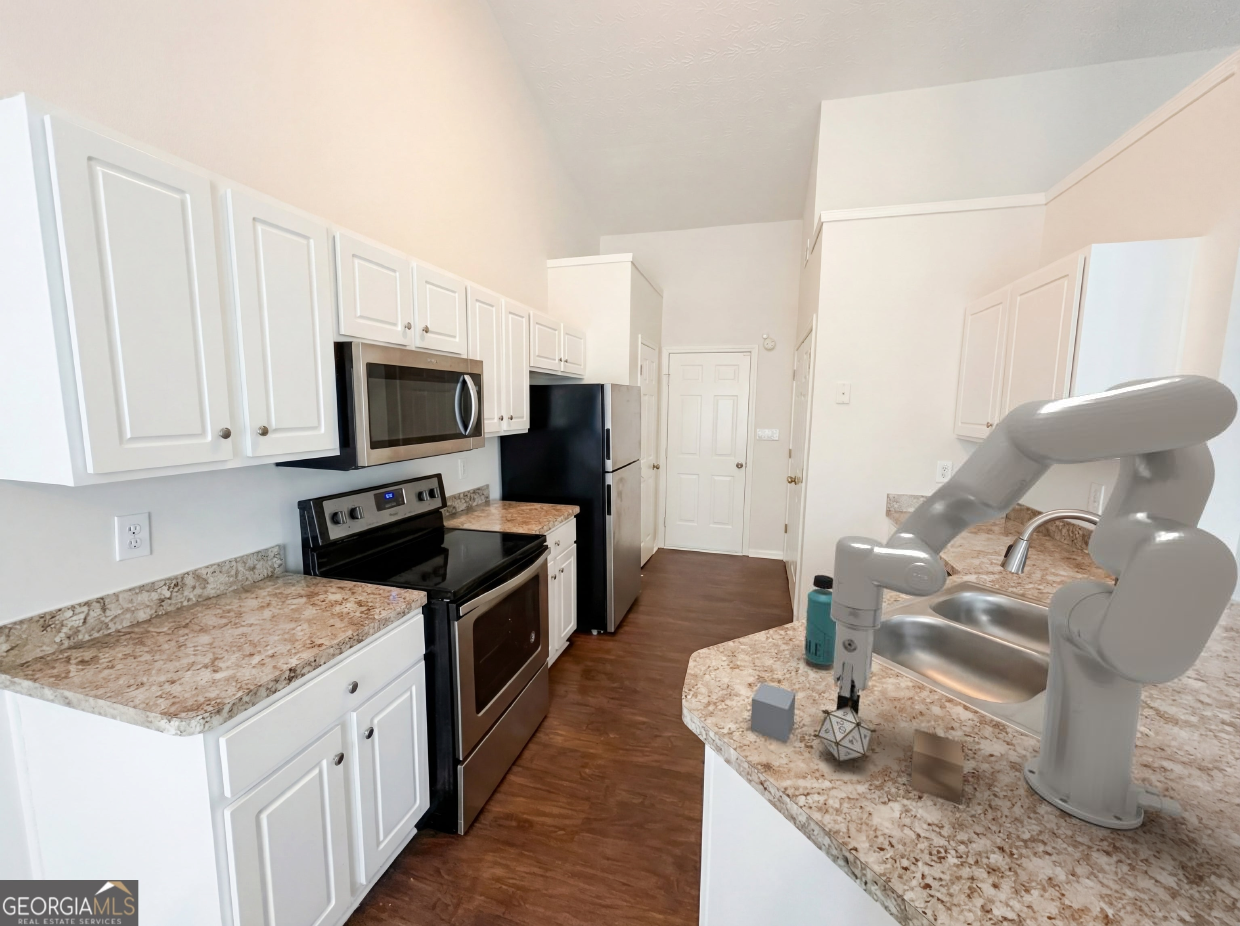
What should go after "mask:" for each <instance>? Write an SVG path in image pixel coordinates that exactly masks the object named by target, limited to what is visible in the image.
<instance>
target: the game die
mask: <svg viewBox="0 0 1240 926" xmlns="http://www.w3.org/2000/svg"><path fill="white" fill-rule="evenodd" d="M850 706H851V701H850V702H848V706H847V707H844V708H841V709H837V708H836V709H834V710H830V711H829V710H828V709H821V712H822V713H823V719H822V722H821V724H820V726H819V730H818V732H817V733H813V734H812V737H813V738H819V739H820V740H821V742H822V743H823V744H824V745H825V747H827V749H828V750H829V752H831V753H832V755H833V756H834V758H836V759H837V764H836V765H837V768H839V767H840V766H842V765H841V764H842V763H841V762H844V761H848V760H852V759H856V758H857V759H858V758H865V760H869V761H870V760H871V759H870V756H869V755H868V754H867V752H868V748H869V744H870V741H871V737H872V734H873V733H876V734H877V732H878V730H877V729H876V728H872V729H871V727H869V725H867V724H866V722H865V721H864V720H863V719H862V718H861V717H860V716H859V714H858V715H857V714H856V713H855V711H854V710H853V709H852V708H851V707H850Z"/></svg>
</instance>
